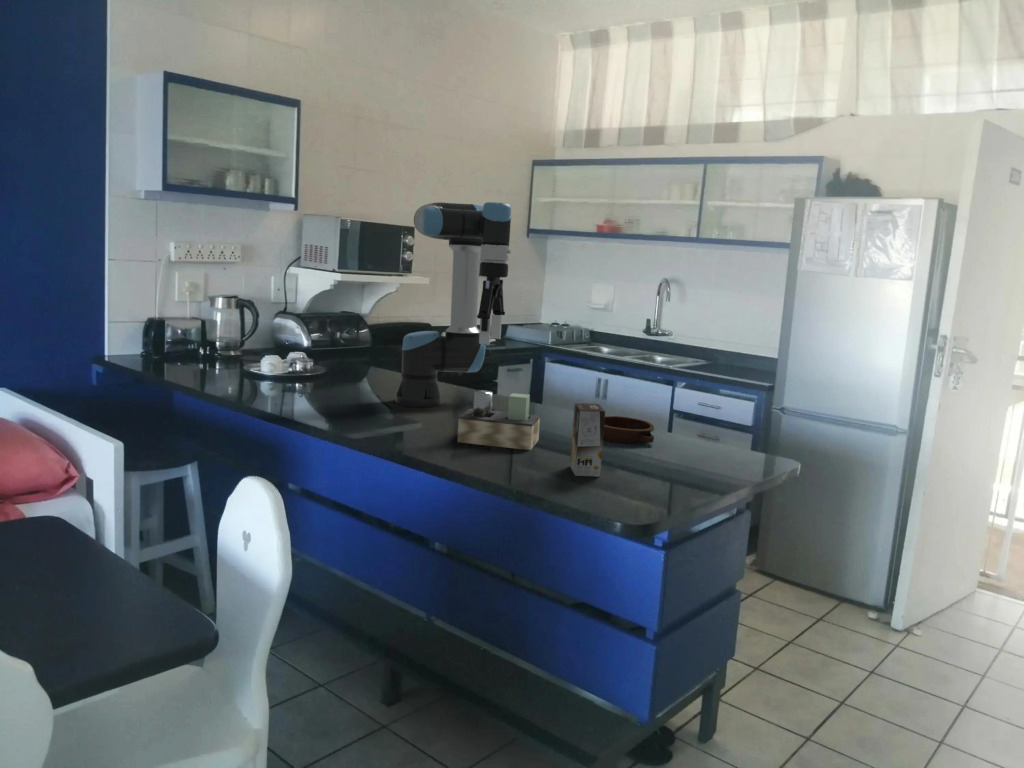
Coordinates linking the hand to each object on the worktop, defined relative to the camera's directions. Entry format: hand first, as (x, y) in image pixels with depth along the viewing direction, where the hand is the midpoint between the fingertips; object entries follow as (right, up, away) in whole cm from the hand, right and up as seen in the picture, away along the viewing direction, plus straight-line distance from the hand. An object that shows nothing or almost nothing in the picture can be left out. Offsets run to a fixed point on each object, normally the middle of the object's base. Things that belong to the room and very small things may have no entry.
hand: (490, 341), depth 224 cm
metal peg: (-2, -21, +2) cm, 21 cm away
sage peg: (+7, -22, 0) cm, 23 cm away
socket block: (+2, -27, +2) cm, 27 cm away
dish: (+37, -28, +15) cm, 49 cm away
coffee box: (+24, -33, -22) cm, 46 cm away
